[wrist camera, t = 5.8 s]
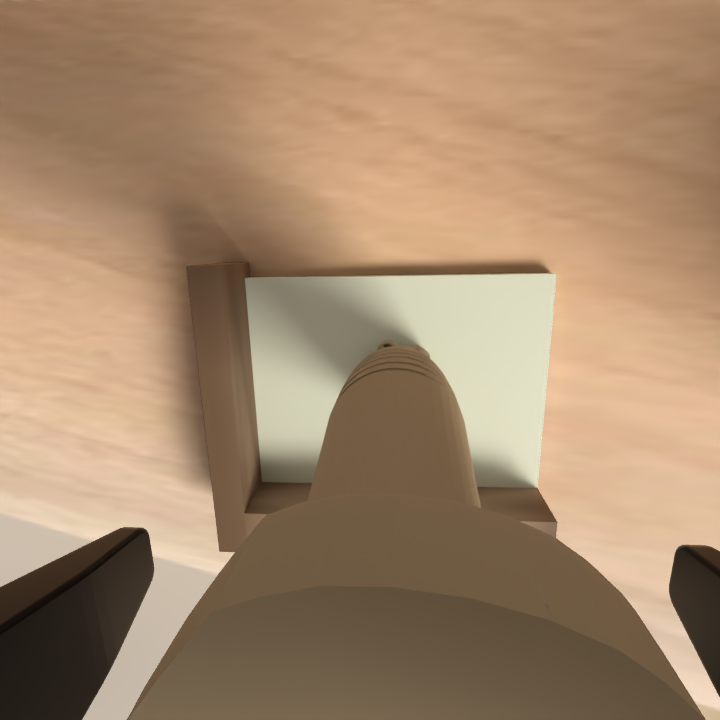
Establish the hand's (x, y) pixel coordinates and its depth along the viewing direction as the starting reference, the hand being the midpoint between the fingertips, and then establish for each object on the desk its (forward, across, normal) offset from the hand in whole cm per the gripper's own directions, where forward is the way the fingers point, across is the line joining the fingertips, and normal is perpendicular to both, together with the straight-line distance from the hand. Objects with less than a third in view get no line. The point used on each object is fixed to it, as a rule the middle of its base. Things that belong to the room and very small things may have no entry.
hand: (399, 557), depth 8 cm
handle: (+11, 0, 0) cm, 11 cm away
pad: (+12, 0, 0) cm, 12 cm away
